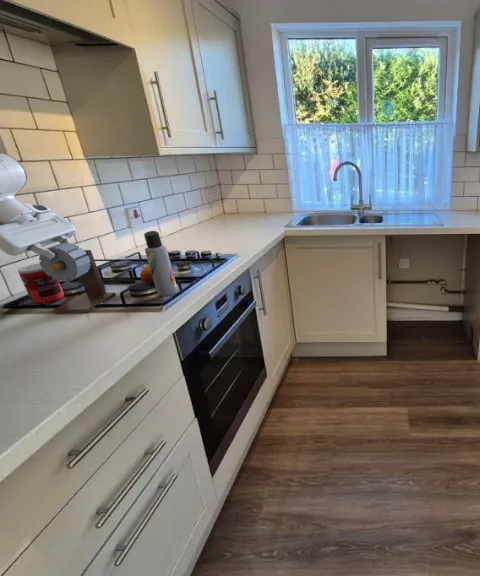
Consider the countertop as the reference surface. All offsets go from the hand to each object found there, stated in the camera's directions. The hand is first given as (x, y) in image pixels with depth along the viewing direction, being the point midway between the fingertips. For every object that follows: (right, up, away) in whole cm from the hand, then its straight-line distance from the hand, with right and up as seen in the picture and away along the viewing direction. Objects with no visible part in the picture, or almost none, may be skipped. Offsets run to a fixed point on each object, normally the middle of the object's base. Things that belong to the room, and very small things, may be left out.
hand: (64, 253), depth 102 cm
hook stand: (0, -15, +8) cm, 17 cm away
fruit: (+11, -8, +24) cm, 27 cm away
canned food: (-15, -14, +12) cm, 23 cm away
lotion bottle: (+21, -12, +15) cm, 28 cm away
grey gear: (0, -7, +3) cm, 8 cm away
